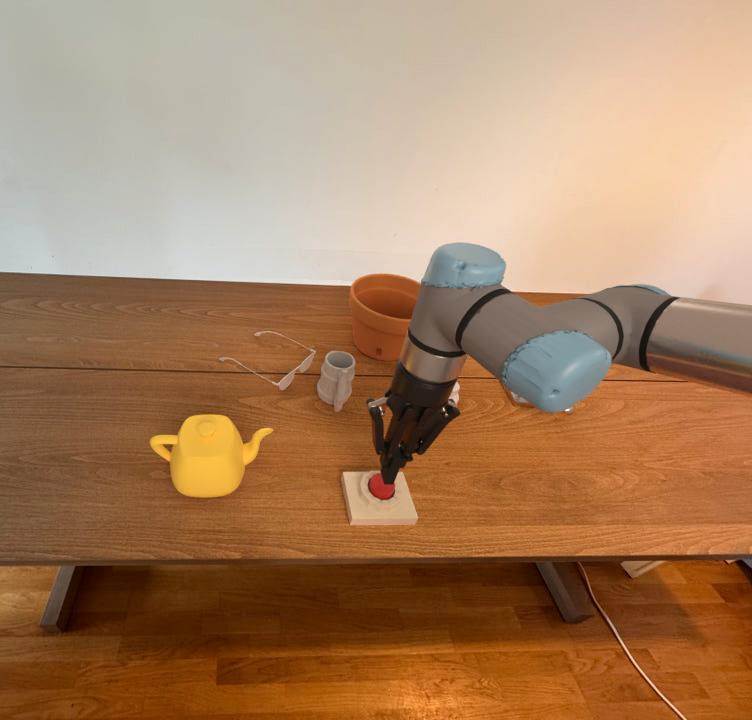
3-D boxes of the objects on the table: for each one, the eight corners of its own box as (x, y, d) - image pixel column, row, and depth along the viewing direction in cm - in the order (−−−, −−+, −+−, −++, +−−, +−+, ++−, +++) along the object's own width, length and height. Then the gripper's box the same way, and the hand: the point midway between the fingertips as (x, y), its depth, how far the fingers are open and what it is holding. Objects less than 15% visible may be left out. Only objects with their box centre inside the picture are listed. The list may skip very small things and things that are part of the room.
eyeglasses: (277, 397, 91) (278, 383, 89) (216, 361, 99) (215, 348, 97) (315, 362, 101) (317, 349, 99) (256, 333, 109) (257, 320, 106)
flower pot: (437, 346, 109) (457, 296, 100) (396, 383, 97) (413, 331, 88) (369, 312, 120) (381, 265, 111) (324, 342, 108) (333, 292, 98)
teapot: (271, 505, 71) (276, 460, 63) (150, 509, 69) (140, 463, 61) (266, 443, 81) (270, 397, 73) (161, 445, 79) (153, 398, 72)
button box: (399, 478, 77) (405, 465, 74) (414, 525, 70) (421, 512, 67) (340, 478, 76) (344, 465, 73) (349, 525, 69) (354, 512, 66)
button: (389, 478, 72) (391, 472, 71) (395, 499, 69) (398, 493, 68) (366, 478, 72) (368, 472, 71) (371, 499, 69) (374, 493, 68)
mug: (348, 383, 96) (358, 341, 88) (354, 421, 87) (366, 378, 79) (315, 381, 96) (322, 339, 88) (317, 419, 87) (325, 376, 79)
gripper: (466, 348, 57) (418, 458, 71) (371, 346, 56) (343, 458, 71) (491, 386, 51) (433, 497, 66) (385, 384, 50) (351, 498, 65)
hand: (386, 477), depth 68 cm, fingers closed
